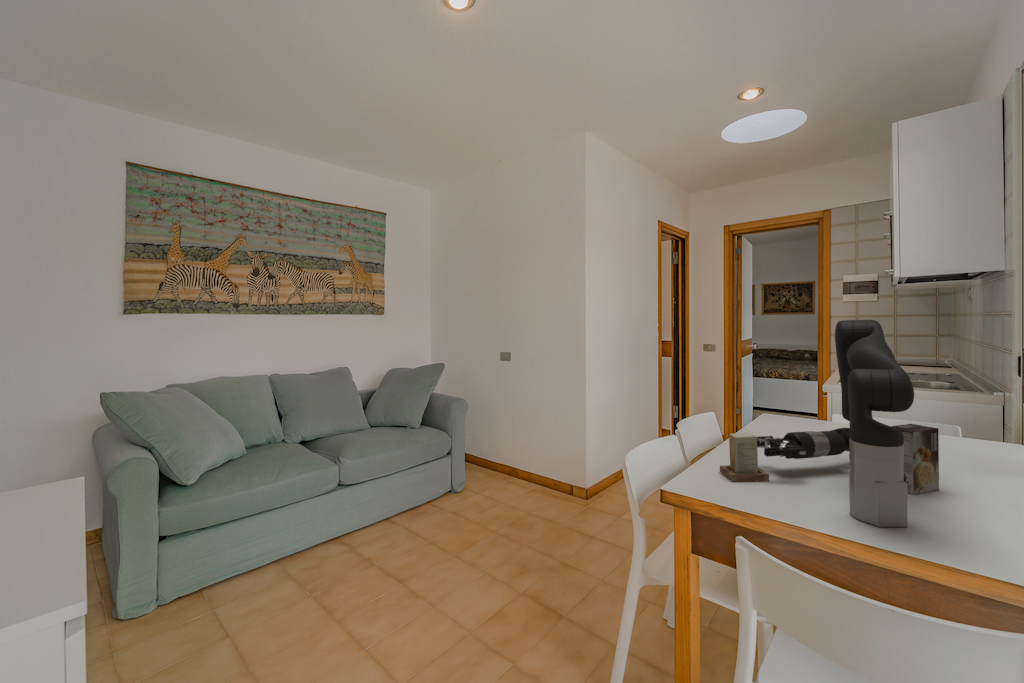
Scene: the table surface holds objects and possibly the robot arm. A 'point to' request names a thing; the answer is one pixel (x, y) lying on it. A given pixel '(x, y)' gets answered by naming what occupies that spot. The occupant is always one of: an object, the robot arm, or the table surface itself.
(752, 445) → the skincare box
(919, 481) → the coffee box
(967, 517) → the table surface
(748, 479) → the pocket collar
